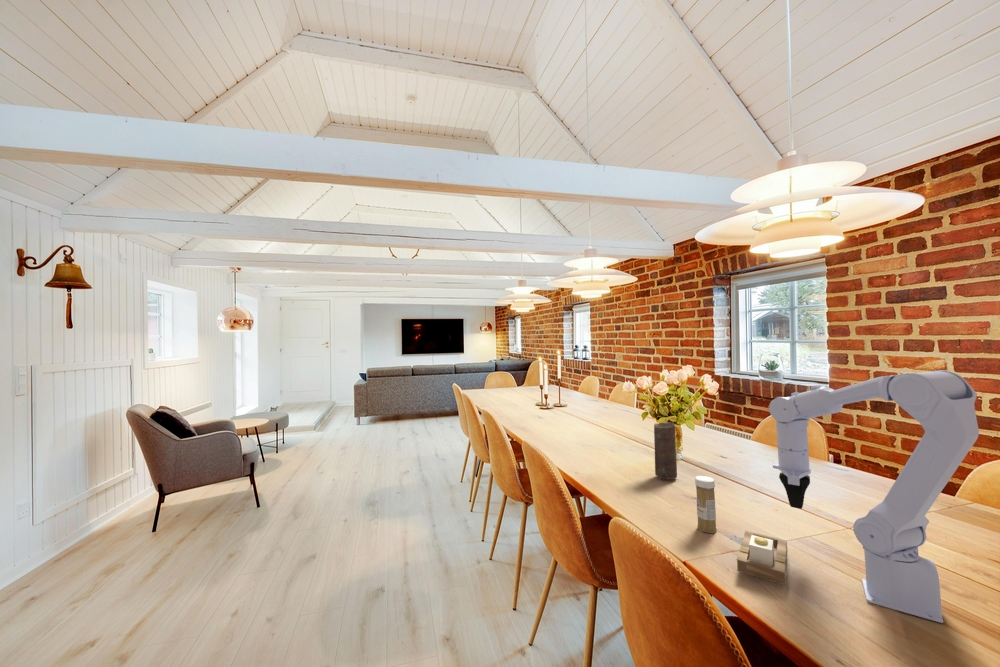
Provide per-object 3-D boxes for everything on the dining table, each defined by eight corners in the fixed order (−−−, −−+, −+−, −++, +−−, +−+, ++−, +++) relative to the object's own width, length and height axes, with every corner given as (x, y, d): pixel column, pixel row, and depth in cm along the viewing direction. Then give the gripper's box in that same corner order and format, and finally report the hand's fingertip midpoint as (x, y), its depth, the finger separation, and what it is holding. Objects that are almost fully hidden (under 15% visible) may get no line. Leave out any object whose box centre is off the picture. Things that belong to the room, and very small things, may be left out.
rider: (752, 553, 84) (751, 532, 84) (774, 558, 81) (773, 537, 81) (750, 563, 80) (749, 542, 80) (772, 570, 77) (771, 547, 77)
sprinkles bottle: (693, 526, 101) (691, 475, 102) (709, 524, 102) (707, 474, 102) (704, 534, 97) (701, 481, 97) (721, 533, 97) (718, 480, 98)
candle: (681, 482, 133) (678, 425, 134) (660, 482, 133) (657, 426, 134) (671, 474, 141) (669, 421, 141) (652, 475, 141) (649, 421, 141)
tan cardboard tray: (746, 545, 91) (745, 529, 91) (787, 556, 86) (786, 539, 86) (738, 576, 79) (737, 558, 79) (785, 591, 74) (784, 571, 74)
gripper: (773, 439, 96) (776, 493, 96) (769, 453, 85) (773, 514, 85) (809, 443, 92) (812, 499, 91) (810, 458, 81) (814, 522, 80)
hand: (796, 506), depth 88 cm, fingers closed
